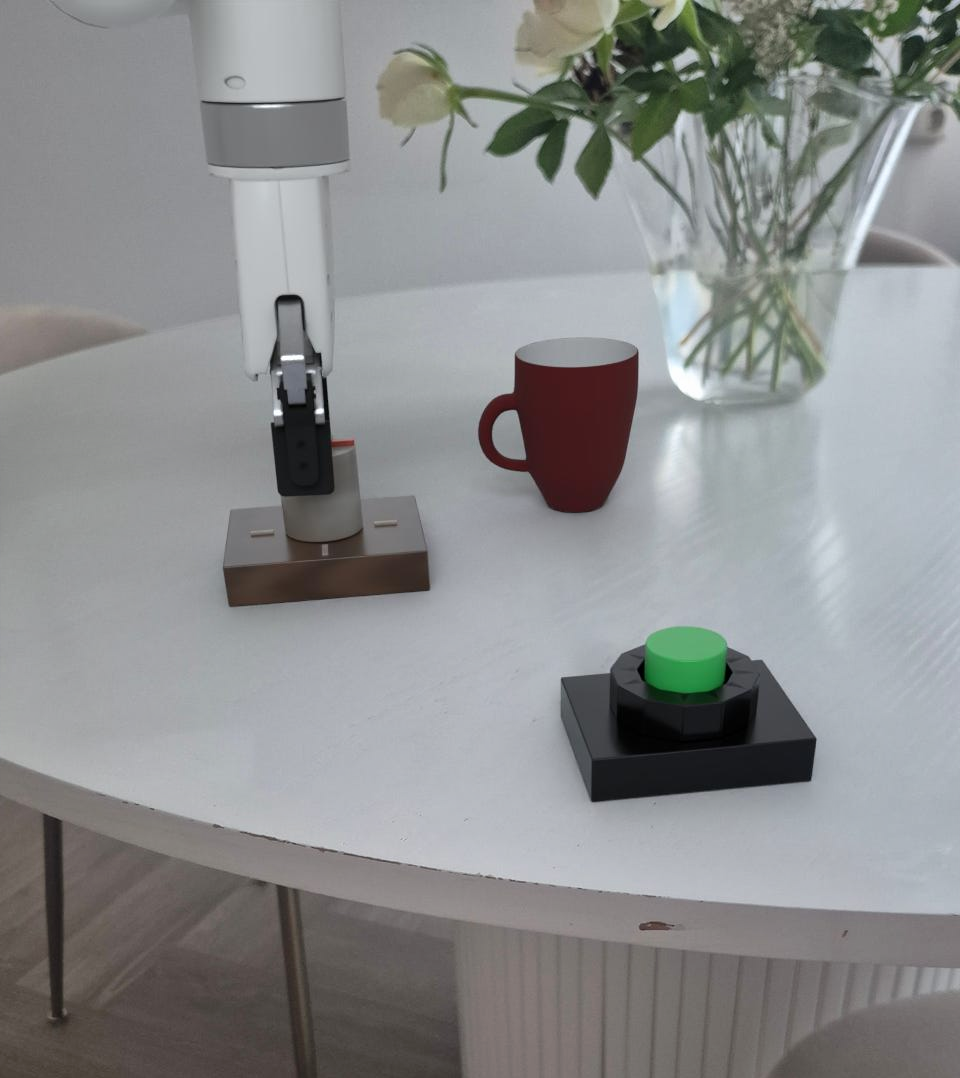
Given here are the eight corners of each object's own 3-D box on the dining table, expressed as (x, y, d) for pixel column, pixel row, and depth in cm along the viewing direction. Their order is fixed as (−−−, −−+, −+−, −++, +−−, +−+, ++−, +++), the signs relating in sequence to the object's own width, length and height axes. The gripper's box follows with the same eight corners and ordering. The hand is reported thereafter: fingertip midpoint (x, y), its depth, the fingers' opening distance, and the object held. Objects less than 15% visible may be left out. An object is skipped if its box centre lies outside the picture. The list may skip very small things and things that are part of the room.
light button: (654, 700, 55) (655, 664, 54) (636, 664, 58) (637, 629, 57) (734, 692, 56) (737, 656, 55) (712, 657, 59) (714, 622, 58)
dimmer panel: (228, 607, 75) (221, 564, 73) (235, 546, 83) (229, 506, 81) (430, 590, 76) (427, 547, 74) (417, 531, 84) (414, 492, 82)
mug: (493, 532, 83) (487, 375, 77) (473, 493, 90) (467, 345, 84) (648, 517, 84) (654, 361, 79) (618, 479, 91) (621, 333, 85)
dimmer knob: (284, 545, 76) (273, 456, 73) (285, 517, 80) (274, 432, 76) (364, 538, 76) (356, 450, 73) (361, 511, 80) (353, 427, 77)
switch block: (591, 802, 55) (592, 723, 53) (560, 716, 62) (560, 642, 60) (811, 781, 56) (822, 701, 54) (758, 698, 63) (765, 624, 60)
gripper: (213, 128, 73) (248, 430, 82) (192, 159, 58) (237, 520, 68) (344, 125, 73) (363, 425, 83) (354, 155, 59) (376, 513, 69)
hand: (306, 467), depth 75 cm, fingers open, 9 cm apart
